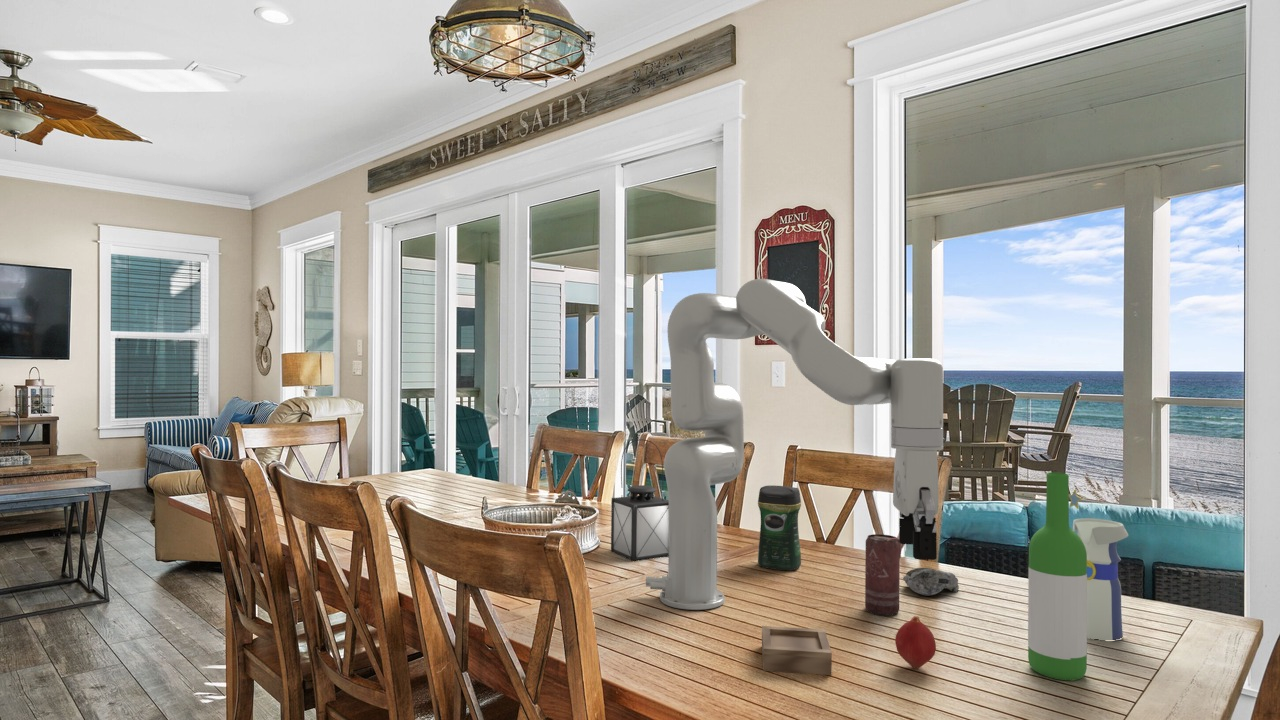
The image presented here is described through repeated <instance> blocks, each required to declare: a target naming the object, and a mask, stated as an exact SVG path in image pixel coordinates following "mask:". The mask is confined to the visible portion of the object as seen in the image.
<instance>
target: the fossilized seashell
mask: <svg viewBox="0 0 1280 720" xmlns="http://www.w3.org/2000/svg"><path fill="white" fill-rule="evenodd" d="M902 579H903V581H904V583H905V584H906V585H907V587H908V588H909V589H911V591H913V592H915V593H916V594H919V595H922V596H925V597H927V596H934V595H936V594H937V595H938V594H939V593H941V592H942V591H943V590H944V589H948V590H949V591H950V592H952V593H958V592H959V589H960V586H959V579H958V578H957V577H956V575H955V573H954V574H953V572H950V571H949V572H947V571H943V570H941V569H940V570H937V569H934V568H932V567H931V568H929V567H917V568H913V569H910V570H908V571H907V572H906V574H905V575H904V576H903V578H902Z"/></svg>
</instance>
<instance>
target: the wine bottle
mask: <svg viewBox="0 0 1280 720" xmlns="http://www.w3.org/2000/svg"><path fill="white" fill-rule="evenodd" d="M1069 480H1070V479H1069V474H1068V473H1065V472H1064V473H1063V472H1055V471H1054V472H1053V471H1052V472H1047V473H1046V497H1045V498H1046V500H1045V502H1046V503H1045V505H1046V506H1045V507H1046V510H1045V517H1046V518H1045V524H1044V526H1042V527H1041V528H1040V529H1037V530H1036V532H1035V533H1034V534H1033V535H1032V537H1031V538H1030V541H1029V544H1028V579H1027V580H1028V583H1027V585H1028V589H1027V591H1028V595H1027V597H1028V600H1027V601H1028V603H1027V604H1028V605H1027V608H1028V610H1027V612H1028V613H1027V617H1028V618H1027V623H1028V624H1027V646H1028V647H1027V648H1028V653H1027V655H1028V664H1029V666H1030V667H1031V669H1032V670H1033V671H1035V673H1038V674H1039V675H1042V676H1044V677H1047V678H1049V679H1055V680H1060V681H1076V680H1078V681H1079V680H1080V679H1082V678H1083V677H1084V676H1085V675H1086V673H1087V665H1088V664H1087V662H1088V661H1087V660H1088V659H1087V655H1088V638H1087V553H1086V549H1085V546H1084V544H1083V542H1082V540H1081V538H1080V537H1079V536H1078V535H1077V532H1076V531H1075V532H1074V531H1073V528H1071V527H1070V521H1069V520H1070V515H1069V514H1070V503H1069V502H1070V500H1069V499H1070V498H1069V494H1070V491H1069V490H1070V488H1069V486H1070V483H1069V482H1070V481H1069Z"/></svg>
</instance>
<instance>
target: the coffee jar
mask: <svg viewBox="0 0 1280 720" xmlns="http://www.w3.org/2000/svg"><path fill="white" fill-rule="evenodd" d="M799 489H800V488H798V487H792V486H787V485H764V486H761V487H760V489H759V491H758V499H757V506H758V508H759V509H758V510H759V514H760V528H759V530H760V531H759V539H758V540H759V541H758V551H757V564H758V565H759V566H760V567H762V568H766V569H769V568H770V569H771V570H776V569H777V571H792V570H798V569H799V568H800V567H801V564H802V554H801V544H800V536H799V533H800V532H799V514H800V513H799V512H800V509H801V507H802V500H801V493H800V490H799Z"/></svg>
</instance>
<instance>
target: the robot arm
mask: <svg viewBox="0 0 1280 720" xmlns="http://www.w3.org/2000/svg"><path fill="white" fill-rule="evenodd" d="M825 331H826V320H825V318H824V317H823V315H822V314H821V313H819V312H818V311H816V310H815V309H813V308H811V306H809V305H807V303H806V298H805V295H804V294H803V292H802V291H801V290H800V289H799V288H798V287H797V286H796V285H794V284H793V283H790V282H787V281H786V282H785V281H779V280H774V279H767V278H756V279H751V280H749V281H747V282H745V283H744V284H743V285H742V286H741V287H740V288H739V290H738V291H737V293H736V296H732V295H724V294H719V293H710V292H709V293H708V292H700V293H699V292H698V293H693V294H690V295H688V296H685V297H683V298H682V299H681V300H679V301H678V302H677V303H676V305H675V306H674V307H673V309H672V311H671V312H670V316H669V318H668V321H667V342H668V348H669V350H668V351H669V356H670V411H671V418H672V421H673V422H672V423H674V425H675V426H676V427H677V428H678V429H680V430H682V431H685V432H703V431H704V436H703V437H701V436H700V437H694V438H693V437H691V438H684V439H681V440H679V441H677V442H675V443H674V444H672V445H671V446H670V447H669V448H668V449H667V451H666V453H665V456H664V461H663V471H664V475H665V481H666V486H667V494H668V496H667V497H668V499H667V500H669V551H668V559H667V560H668V561H667V562H668V563H667V564H668V565H667V569H668V570H667V571H668V572H667V574H666V575H661V577H655V576H646V578H645V587H650V590H661V592H660V594H659V600H660V602H661V603H662V604H664V605H666V606H668V607H672V608H675V609H679V610H680V609H681V610H686V611H687V610H689V611H690V610H691V611H703V610H710V609H715V608H718V607H720V606H723V604H724V603H725V601H726V600H725V594H724V592H722V591H721V590H718V588H717V587H718V584H717V583H718V506H717V502H716V499H715V497H714V494H713V491H712V489H711V486H714V485H720V484H725V483H729V482H731V481H734V480H735V479H736V478H737V477H738V476H739V475H740V474H741V471H742V469H743V465H744V458H745V446H744V445H745V441H744V439H745V438H744V437H745V436H744V434H745V433H744V431H745V430H744V407H743V404H742V401H741V397H740V396H739V394H738V392H737V391H736V390H735V389H734V388H733V387H732V386H731V385H728V384H725V383H723V382H722V383H721V382H715V374H714V372H715V371H714V369H715V368H714V367H715V366H714V364H715V363H714V358H713V354H712V352H711V351H712V350H710V347H709V346H708V343H707V341H706V340H707V339H709V338H711V339H712V338H713V339H720V340H721V339H723V340H743V339H744V340H745V339H749V338H753V337H758V336H762V335H765V336H766V337H767V338H768V339H770V340H771V341H772V342H774V343H776V344H777V345H778V346H779V347H780V348H782V349H783V350H785V352H787V353H788V354H789V355H790V356H791V358H792V359H791V360H792V361H793V362H794V364H795V365H796V368H797V369H798V371H799V372H800V373H801V374H802V375H803V377H805V378H806V379H807V380H808V381H809V382H810V383H811V384H813V385H814V386H816V387H817V388H818V389H820V390H821V391H822V392H824V393H825V394H826V395H827V396H829V397H830V398H832V399H834V400H835V401H837V402H839V403H842V404H845V405H849V406H859V405H860V406H861V405H862V406H864V405H870V406H871V405H872V406H873V405H884V404H890V448H891V449H895V453H894V454H895V456H894V466H893V486H892V487H893V488H892V489H893V490H892V491H893V492H892V493H893V494H892V504H893V506H894V508H895V509H897V510H898V511H899V517H898V518H899V519H898V522H899V523H898V524H899V525H898V527H899V529H898V530H899V531H898V532H899V533H898V535H899V536H898V539H899V542H900V543H901V545H912V557H913V559H915V560H926V561H927V560H928V561H929V560H931V561H936V559H937V557H938V556H937V555H938V554H937V552H938V551H937V549H938V548H937V547H938V546H937V544H938V543H937V540H938V538H937V536H938V535H937V524H936V523H937V521H936V520H937V518H936V516H937V515H938V514H939V504H940V503H939V499H940V498H939V497H940V496H939V495H940V494H939V492H940V491H939V486H940V485H939V463H938V451H943V450H944V368H943V364H942V363H941V362H940V361H939V360H937V359H935V358H901V359H897V360H896V359H889V358H888V359H887V358H880V357H869V356H867V357H865V356H854V355H853V354H851V353H850V352H848V351H846V350H845V349H844V348H843V347H841V346H840V345H838V344H836V343H835V342H834V341H833V340H831V339H830V338H829V337H827V335H826V334H825Z"/></svg>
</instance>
